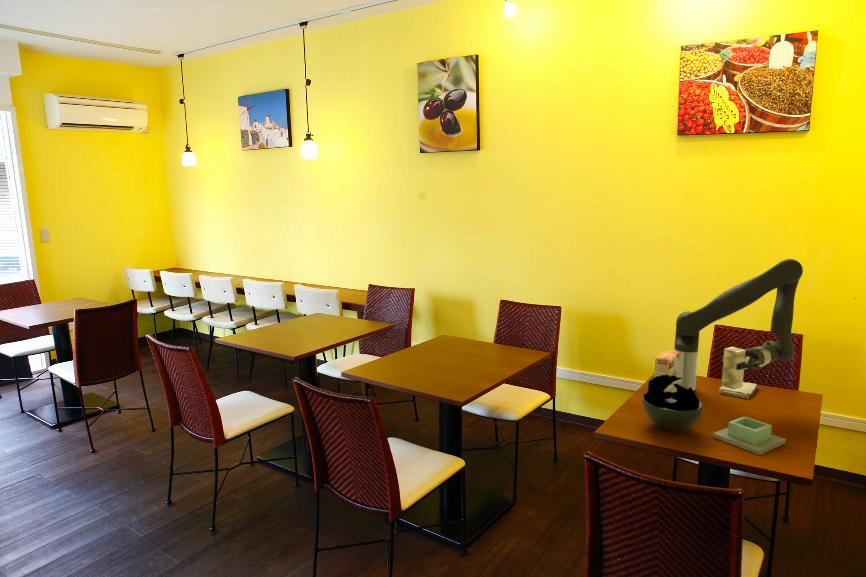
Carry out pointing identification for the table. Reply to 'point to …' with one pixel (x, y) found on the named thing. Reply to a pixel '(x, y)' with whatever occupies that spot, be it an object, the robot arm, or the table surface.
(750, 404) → the table surface
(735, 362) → the square peg
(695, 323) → the robot arm
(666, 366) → the cracker box
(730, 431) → the socket holder
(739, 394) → the washcloth
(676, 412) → the coal bowl
